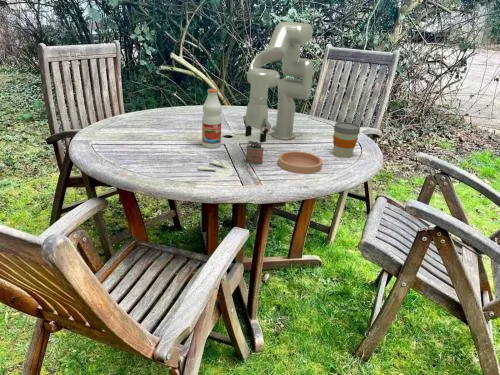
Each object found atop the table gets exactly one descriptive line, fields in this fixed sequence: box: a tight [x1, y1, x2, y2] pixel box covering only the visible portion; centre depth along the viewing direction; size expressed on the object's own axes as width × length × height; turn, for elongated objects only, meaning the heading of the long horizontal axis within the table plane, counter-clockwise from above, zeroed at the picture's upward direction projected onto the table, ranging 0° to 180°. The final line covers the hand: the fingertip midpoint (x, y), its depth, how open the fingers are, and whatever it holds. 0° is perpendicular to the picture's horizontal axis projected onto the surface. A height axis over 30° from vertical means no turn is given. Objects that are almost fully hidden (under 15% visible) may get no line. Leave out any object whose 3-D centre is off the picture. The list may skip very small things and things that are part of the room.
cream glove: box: [197, 159, 234, 179], centre depth 179 cm, size 20×22×2 cm
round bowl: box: [277, 150, 324, 175], centre depth 187 cm, size 20×20×3 cm
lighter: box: [245, 140, 265, 166], centre depth 185 cm, size 8×3×10 cm, turn 71°
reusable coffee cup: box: [332, 121, 361, 158], centre depth 202 cm, size 13×13×15 cm
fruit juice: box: [201, 88, 223, 149], centre depth 199 cm, size 9×9×28 cm
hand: (255, 139), depth 182 cm, fingers open, 9 cm apart
